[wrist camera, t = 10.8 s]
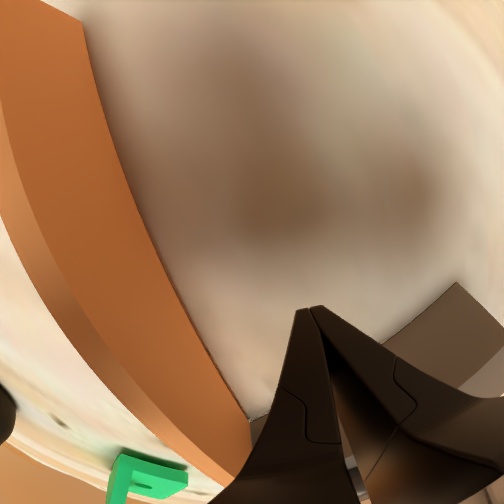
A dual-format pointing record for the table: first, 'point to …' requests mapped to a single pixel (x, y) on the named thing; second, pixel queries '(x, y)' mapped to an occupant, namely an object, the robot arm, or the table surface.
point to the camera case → (442, 356)
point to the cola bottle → (6, 416)
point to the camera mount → (142, 480)
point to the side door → (100, 244)
